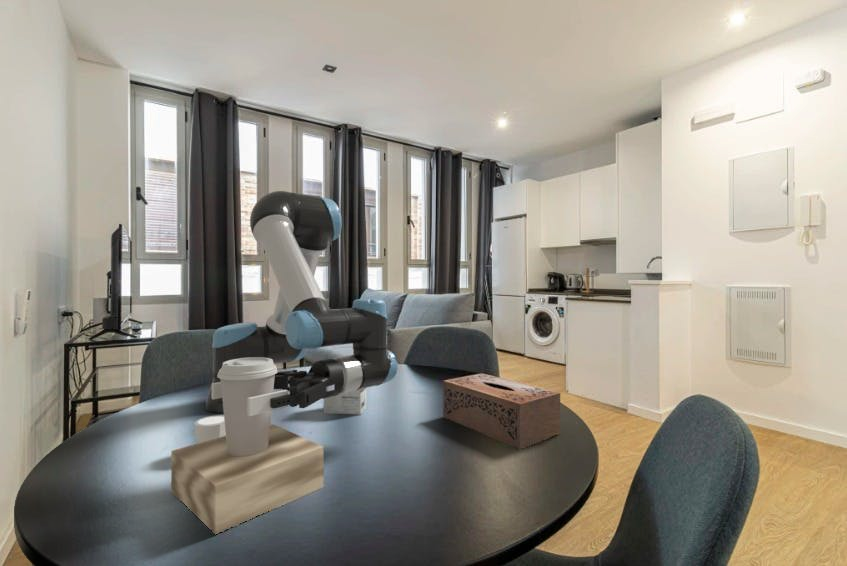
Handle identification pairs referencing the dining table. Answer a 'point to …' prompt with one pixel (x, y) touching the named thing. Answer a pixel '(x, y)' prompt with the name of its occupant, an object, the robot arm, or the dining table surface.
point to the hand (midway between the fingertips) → (228, 398)
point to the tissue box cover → (502, 408)
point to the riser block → (245, 477)
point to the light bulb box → (346, 403)
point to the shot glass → (209, 428)
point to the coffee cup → (236, 387)
